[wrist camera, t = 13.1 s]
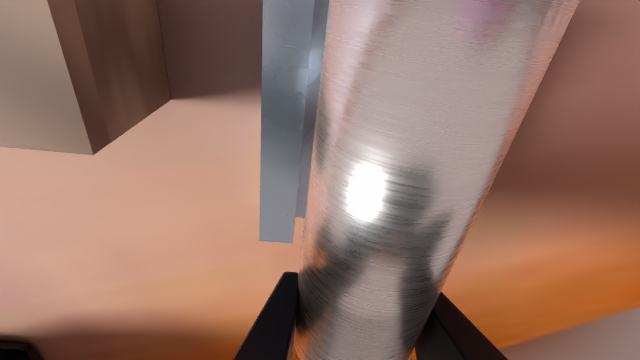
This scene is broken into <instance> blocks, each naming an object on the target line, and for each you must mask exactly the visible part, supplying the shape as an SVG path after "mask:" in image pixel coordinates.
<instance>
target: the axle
mask: <svg viewBox="0 0 640 360" xmlns="http://www.w3.org/2000/svg"><path fill="white" fill-rule="evenodd" d="M579 1H580V0H329V7H328V16H327V25H326V34H325V43H324V52H323V61H322V70H321V79H320V88H319V97H318V106H317V115H316V124H315V133H314V142H313V151H312V160H311V169H310V178H309V187H308V196H307V205H306V214H305V223H304V231H303V240H302V249H301V258H300V267H299V276H298V306H297V316H296V325H295V333H294V342H293V343H294V347H295V351H296V353H297V356H298V358H299V360H408V359H409V357H410V355H411V353H412V351H413V349H414V346H415V344H416V342H417V340H418V338H419V336H420V334H421V332H422V330H423V328H424V326H425V323H426V321H427V319H428V317H429V315H430V313H431V311H432V309H433V307H434V305H435V303H436V300H437V298H438V296H439V294H440V292H441V290H442V288H443V286H444V284H445V282H446V279H447V277H448V275H449V273H450V271H451V269H452V267H453V265H454V263H455V261H456V259H457V256H458V254H459V252H460V250H461V248H462V246H463V244H464V242H465V240H466V238H467V236H468V233H469V231H470V229H471V227H472V225H473V223H474V221H475V219H476V217H477V215H478V213H479V210H480V208H481V206H482V204H483V202H484V200H485V198H486V196H487V194H488V192H489V189H490V187H491V185H492V183H493V181H494V179H495V177H496V175H497V173H498V171H499V169H500V166H501V164H502V162H503V160H504V158H505V156H506V154H507V152H508V150H509V148H510V146H511V143H512V141H513V139H514V137H515V135H516V133H517V131H518V129H519V127H520V125H521V123H522V120H523V118H524V116H525V114H526V112H527V110H528V108H529V106H530V104H531V102H532V99H533V97H534V95H535V93H536V91H537V89H538V87H539V85H540V83H541V81H542V79H543V76H544V74H545V72H546V70H547V68H548V66H549V64H550V62H551V60H552V58H553V56H554V53H555V51H556V49H557V47H558V45H559V43H560V41H561V39H562V37H563V35H564V33H565V30H566V28H567V26H568V24H569V22H570V20H571V18H572V16H573V14H574V12H575V9H576V7H577V5H578V3H579Z"/></svg>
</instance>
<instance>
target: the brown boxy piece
mask: <svg viewBox="0 0 640 360" xmlns="http://www.w3.org/2000/svg"><path fill="white" fill-rule="evenodd" d="M168 101H170V93H169V85H168V78H167V71H166V64H165V57H164V50H163V43H162V35H161V28H160V21H159V14H158V7H157V0H0V147H9V148H20V149H32V150H43V151H54V152H65V153H77V154H88V155H94V154H95V153H97V152H98V151H100V150H101V149H102V148H104V147H105V146H107V145H108V144H109V143H111V142H112V141H114V140H115V139H116V138H118V137H119V136H121V135H122V134H123V133H125V132H126V131H128V130H129V129H130V128H132V127H133V126H135V125H136V124H138V123H139V122H140V121H142V120H143V119H145V118H146V117H147V116H149V115H150V114H152V113H153V112H154V111H156V110H157V109H159V108H160V107H161V106H163V105H164V104H166V103H167V102H168Z"/></svg>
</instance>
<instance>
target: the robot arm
mask: <svg viewBox="0 0 640 360" xmlns="http://www.w3.org/2000/svg"><path fill="white" fill-rule="evenodd" d="M298 276H299V274H298V273H297V272H284V273H283V275H282V276H281V278H280V280H279V281H278V283H277V285H276V287H275V288H274V290H273V292H272V293H271V295H270V297H269V298H268V300H267V302H266V304H265V305H264V307H263V309H262V310H261V312H260V314H259V315H258V317H257V319H256V321H255V322H254V324H253V326H252V327H251V329H250V331H249V332H248V334H247V336H246V338H245V339H244V341H243V343H242V344H241V346H240V348H239V349H238V351H237V353H236V355H235V356H234V358H233V360H291V358H292V350H293V342H294V333H295V325H296V316H297V306H298ZM415 351H416V357H417V360H508V359H507V358H506V357H505V356H504V355H503V354H502V353H501V352H500V351H499V350H498V349H497V348H496V347H495V346H494V345H493V344H492V343H491V342H490V341H489V340H488V339H487V338H486V337H485V336H484V335H483V334H482V333H481V332H480V331H479V330H478V329H477V328H476V327H475V326H474V325H473V323H472V322H471V321H470V320H469V319H468V318H467V317H466V316H465V315H464V314H463V313H462V312H461V311H460V310H459V309H458V308H457V307H456V306H455V305H454V304H453V303H452V302H451V301H450V300H449V299H448V298H447V297H446V296H445V295H444V294H443V293H442V292H440V294H439V296H438V298H437V300H436V303H435V305H434V307H433V309H432V311H431V313H430V315H429V317H428V319H427V321H426V323H425V326H424V328H423V330H422V332H421V334H420V336H419V338H418V340H417V342H416V344H415ZM0 360H40V358H39V357H38V355H37V354H36V352H35V350H34V349H33V348H32V347H31V346H30V345H28V344H24V343H7V342H0Z"/></svg>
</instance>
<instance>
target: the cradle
mask: <svg viewBox="0 0 640 360" xmlns="http://www.w3.org/2000/svg"><path fill="white" fill-rule="evenodd" d="M328 7H329V0H263V30H262V100H261V170H260V240H259V241H268V242H282V243H293V236H294V225H295V217H302V218H305V214H306V205H307V196H308V187H309V178H310V169H311V160H312V151H313V142H314V133H315V124H316V115H317V106H318V97H319V88H320V79H321V70H322V61H323V52H324V43H325V34H326V25H327V16H328Z"/></svg>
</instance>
